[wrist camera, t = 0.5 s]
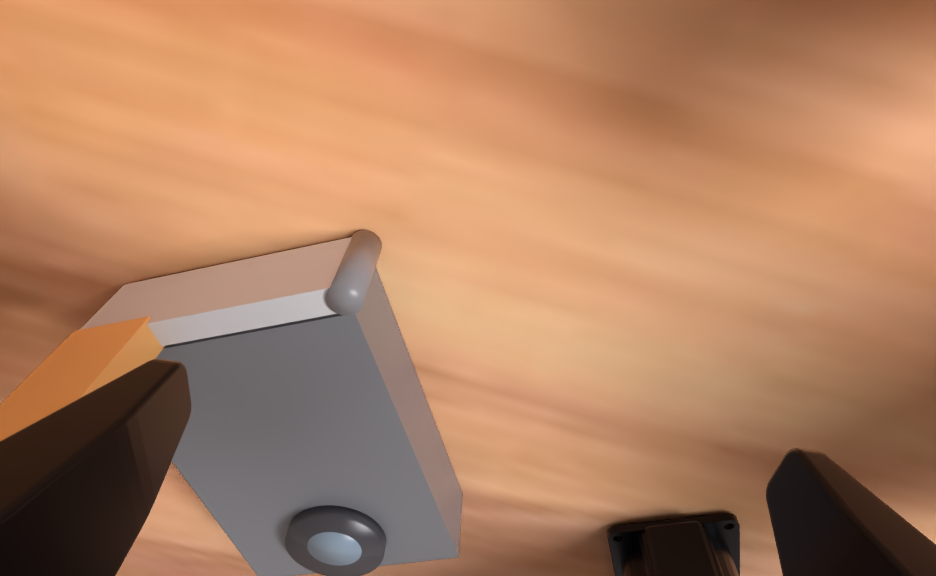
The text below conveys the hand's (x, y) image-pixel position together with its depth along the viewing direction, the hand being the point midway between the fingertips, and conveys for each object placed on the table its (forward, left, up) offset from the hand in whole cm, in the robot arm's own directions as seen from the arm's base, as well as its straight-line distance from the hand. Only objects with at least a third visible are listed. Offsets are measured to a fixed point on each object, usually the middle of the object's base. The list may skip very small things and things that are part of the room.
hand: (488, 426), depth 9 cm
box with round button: (-11, +11, -13) cm, 20 cm away
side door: (-3, +10, -13) cm, 17 cm away
